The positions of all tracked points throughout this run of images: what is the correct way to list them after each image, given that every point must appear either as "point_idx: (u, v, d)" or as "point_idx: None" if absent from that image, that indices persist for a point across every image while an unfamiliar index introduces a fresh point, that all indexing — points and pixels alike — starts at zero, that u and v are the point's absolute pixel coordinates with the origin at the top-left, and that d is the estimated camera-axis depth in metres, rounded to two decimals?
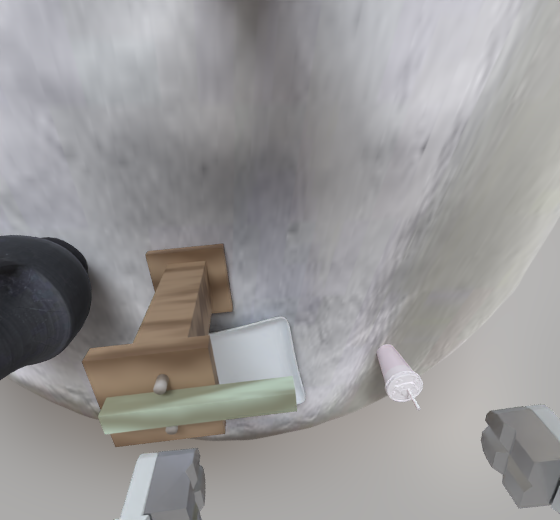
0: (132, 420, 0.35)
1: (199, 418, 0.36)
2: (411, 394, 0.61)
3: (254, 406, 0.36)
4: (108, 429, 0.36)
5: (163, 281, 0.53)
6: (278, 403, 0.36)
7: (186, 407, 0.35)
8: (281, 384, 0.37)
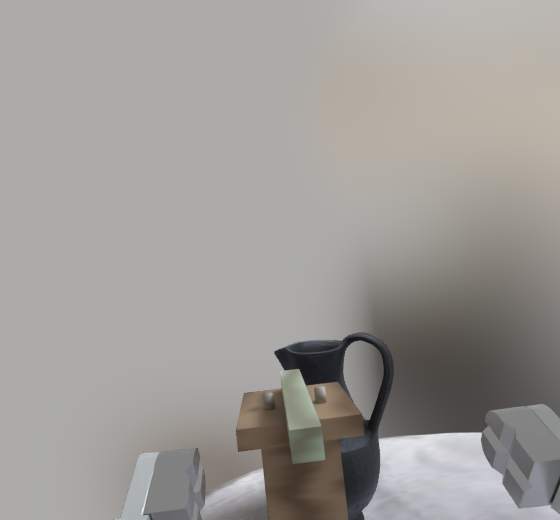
0: (292, 375, 0.43)
1: (289, 391, 0.36)
2: None
3: (302, 409, 0.31)
4: (284, 371, 0.45)
5: None
6: (304, 419, 0.29)
7: (304, 387, 0.37)
8: None
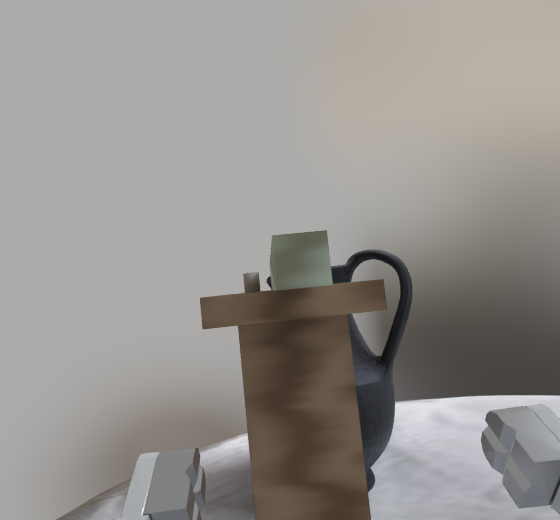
0: None
1: None
2: None
3: None
4: None
5: None
6: None
7: None
8: None
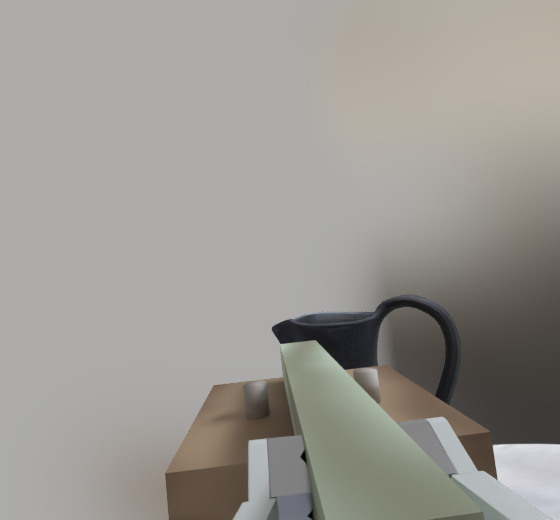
0: (305, 349, 0.22)
1: (303, 376, 0.15)
2: None
3: (352, 422, 0.10)
4: (289, 344, 0.24)
5: None
6: (377, 466, 0.07)
7: (337, 367, 0.16)
8: None
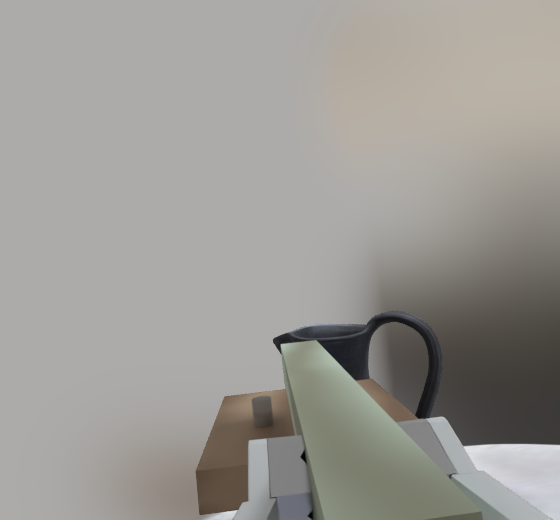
0: (306, 349, 0.22)
1: (303, 376, 0.15)
2: None
3: (352, 421, 0.10)
4: (289, 344, 0.24)
5: None
6: (377, 466, 0.07)
7: (337, 367, 0.16)
8: None
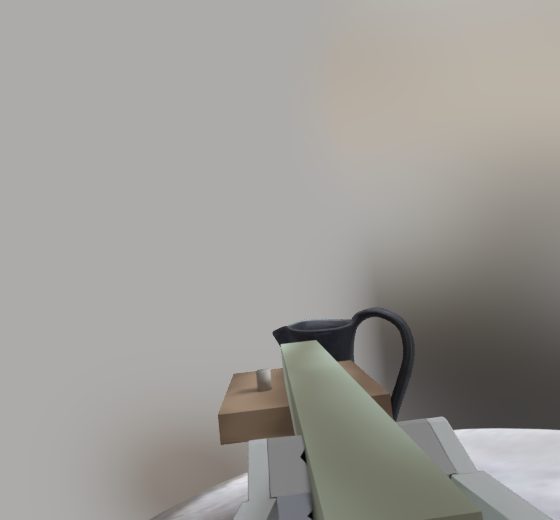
0: (306, 349, 0.22)
1: (303, 376, 0.15)
2: None
3: (352, 421, 0.10)
4: (289, 344, 0.24)
5: None
6: (376, 466, 0.07)
7: (337, 367, 0.16)
8: None
